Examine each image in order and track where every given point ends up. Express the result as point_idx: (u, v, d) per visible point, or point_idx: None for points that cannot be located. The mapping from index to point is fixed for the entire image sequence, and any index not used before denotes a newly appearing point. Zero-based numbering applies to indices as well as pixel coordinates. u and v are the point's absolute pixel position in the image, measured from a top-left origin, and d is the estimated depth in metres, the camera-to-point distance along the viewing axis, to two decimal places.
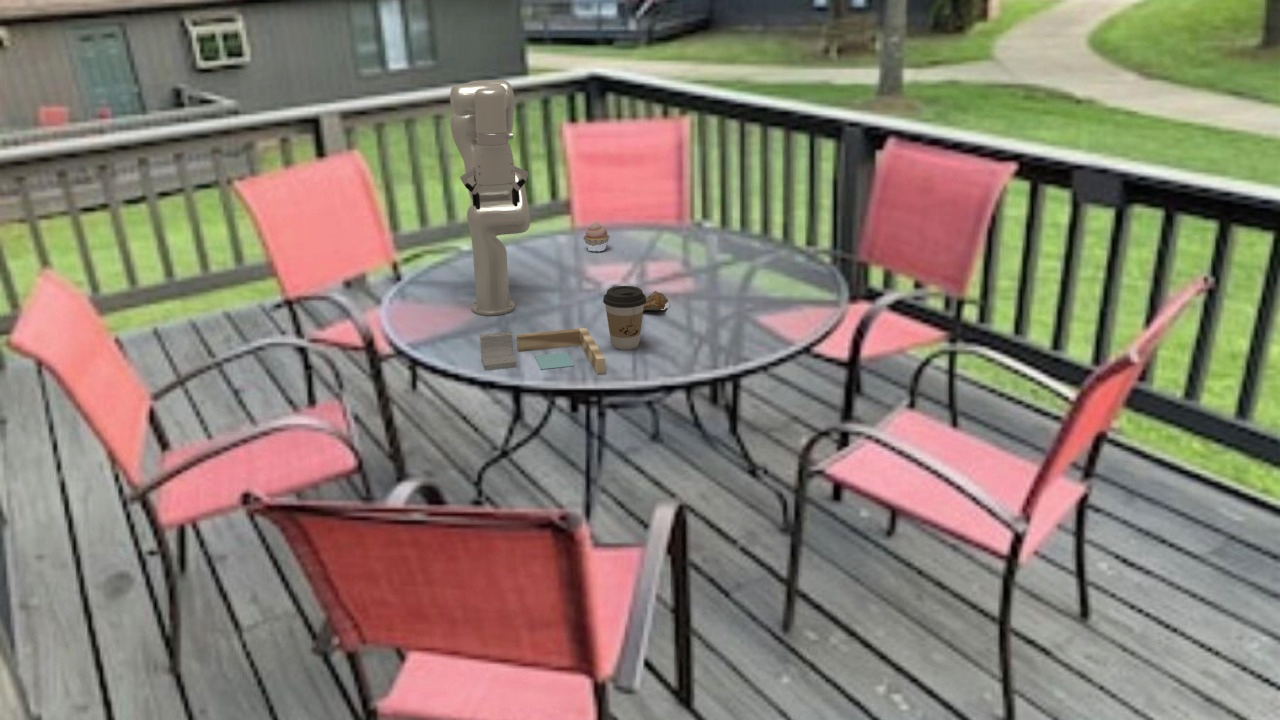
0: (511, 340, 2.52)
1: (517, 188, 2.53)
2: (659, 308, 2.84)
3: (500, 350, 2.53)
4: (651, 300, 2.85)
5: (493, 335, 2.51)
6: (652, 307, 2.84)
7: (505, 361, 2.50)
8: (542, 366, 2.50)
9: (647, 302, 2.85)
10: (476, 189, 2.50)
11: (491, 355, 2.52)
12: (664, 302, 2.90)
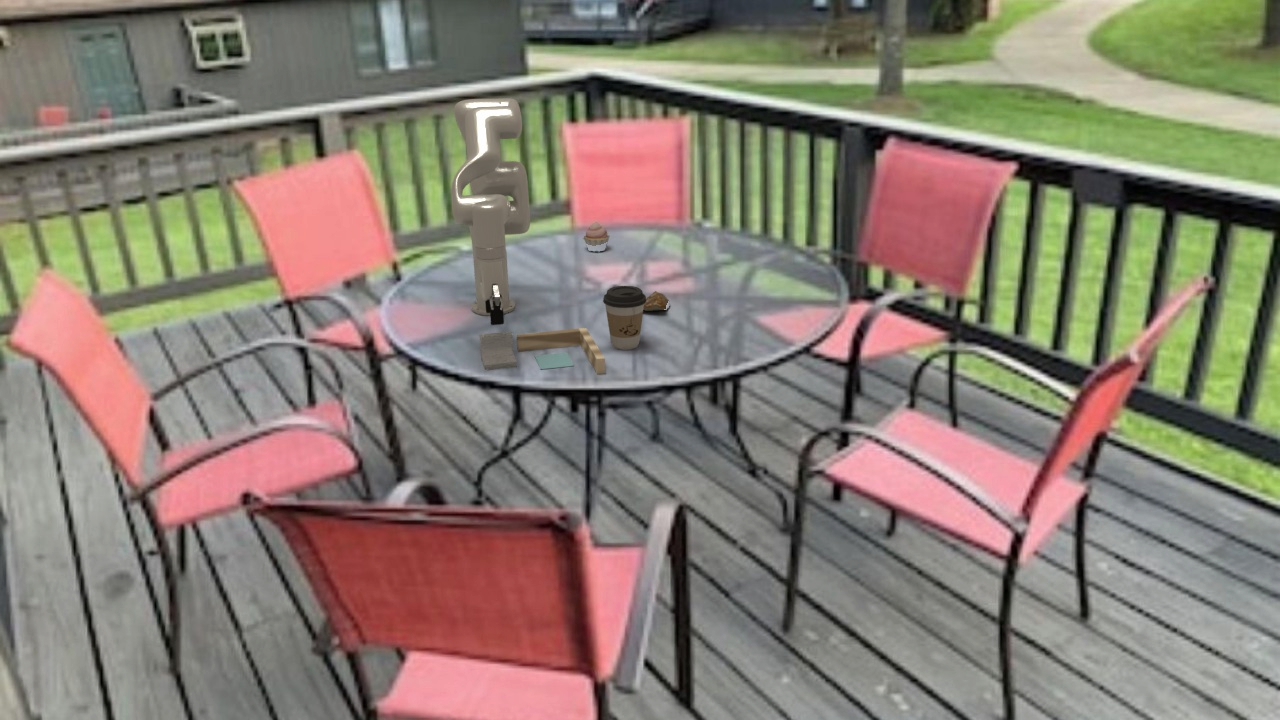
0: (511, 340, 2.52)
1: None
2: (661, 308, 2.84)
3: (500, 350, 2.53)
4: (653, 300, 2.85)
5: (493, 335, 2.51)
6: (654, 307, 2.83)
7: (505, 361, 2.50)
8: (542, 366, 2.50)
9: (649, 302, 2.85)
10: (501, 304, 2.43)
11: (491, 355, 2.52)
12: (665, 302, 2.90)
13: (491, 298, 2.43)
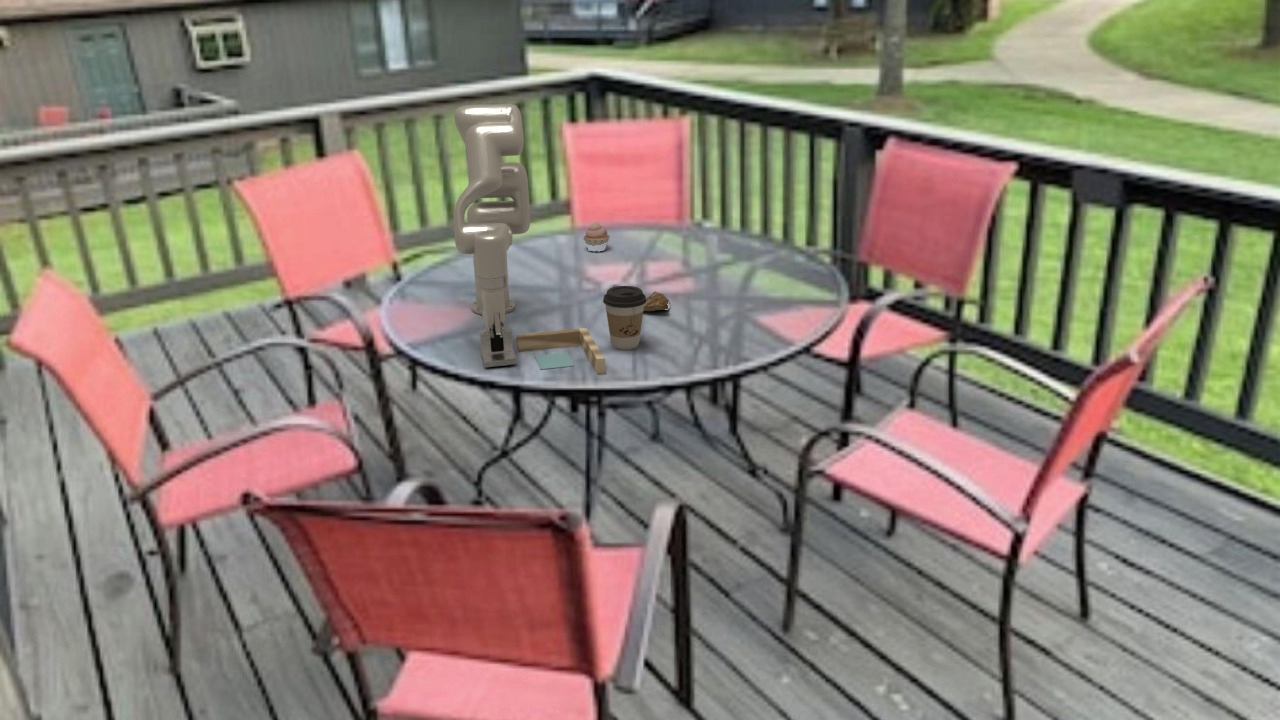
0: (511, 336, 2.52)
1: None
2: (663, 308, 2.84)
3: None
4: (655, 301, 2.84)
5: None
6: (656, 307, 2.83)
7: (505, 357, 2.50)
8: (542, 366, 2.50)
9: (651, 303, 2.84)
10: (501, 332, 2.50)
11: (491, 351, 2.52)
12: (666, 302, 2.90)
13: (492, 328, 2.49)
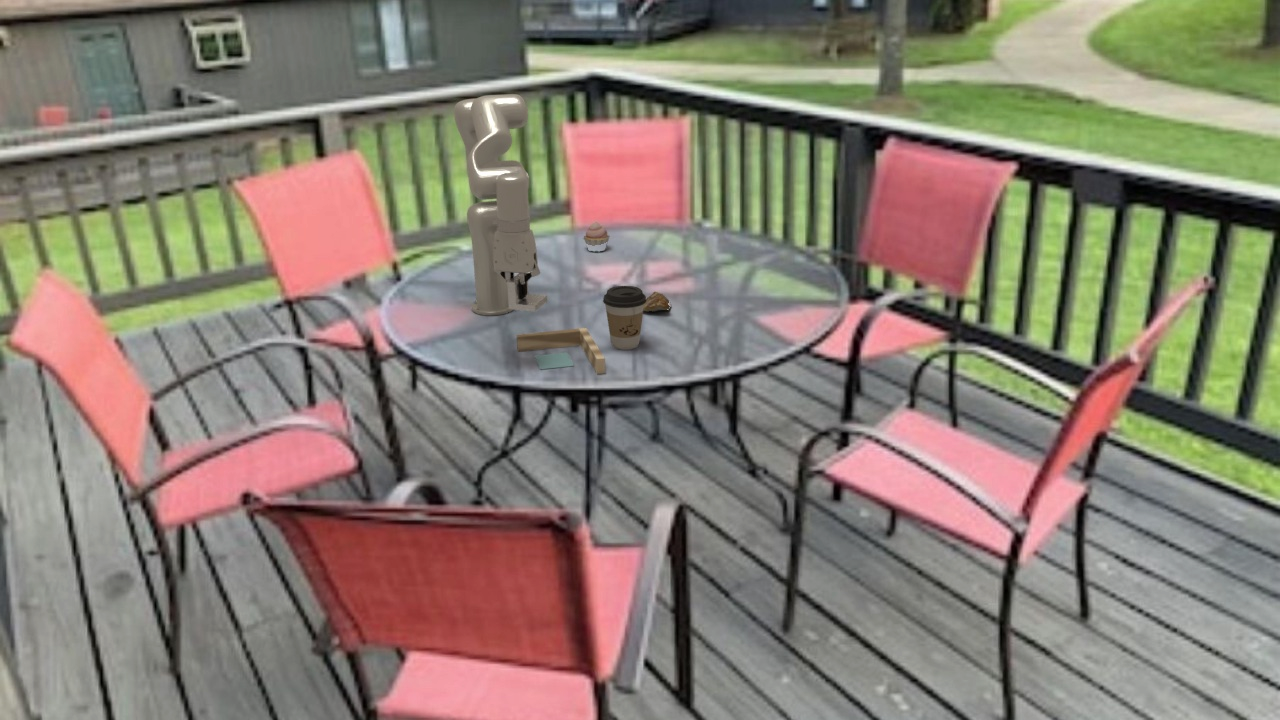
0: None
1: None
2: (665, 308, 2.84)
3: None
4: (656, 301, 2.84)
5: (517, 278, 2.44)
6: (658, 308, 2.83)
7: (538, 298, 2.47)
8: (542, 366, 2.50)
9: (652, 303, 2.84)
10: None
11: (519, 299, 2.45)
12: (667, 302, 2.90)
13: (524, 273, 2.42)
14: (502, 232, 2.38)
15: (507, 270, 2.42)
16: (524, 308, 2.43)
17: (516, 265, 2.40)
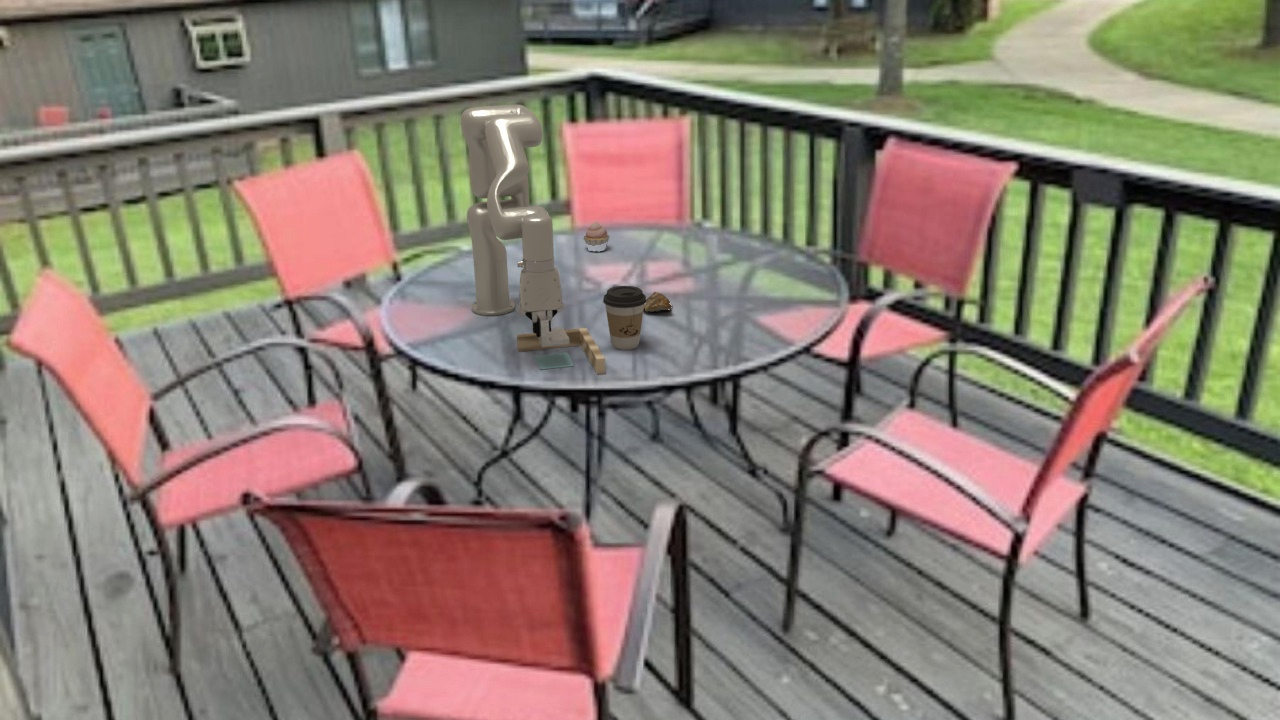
0: None
1: None
2: (667, 308, 2.84)
3: None
4: (658, 301, 2.84)
5: (543, 315, 2.47)
6: (660, 308, 2.83)
7: (560, 331, 2.52)
8: (542, 366, 2.50)
9: (654, 303, 2.84)
10: None
11: None
12: None
13: None
14: (534, 273, 2.40)
15: (538, 309, 2.44)
16: (558, 343, 2.48)
17: (547, 303, 2.44)
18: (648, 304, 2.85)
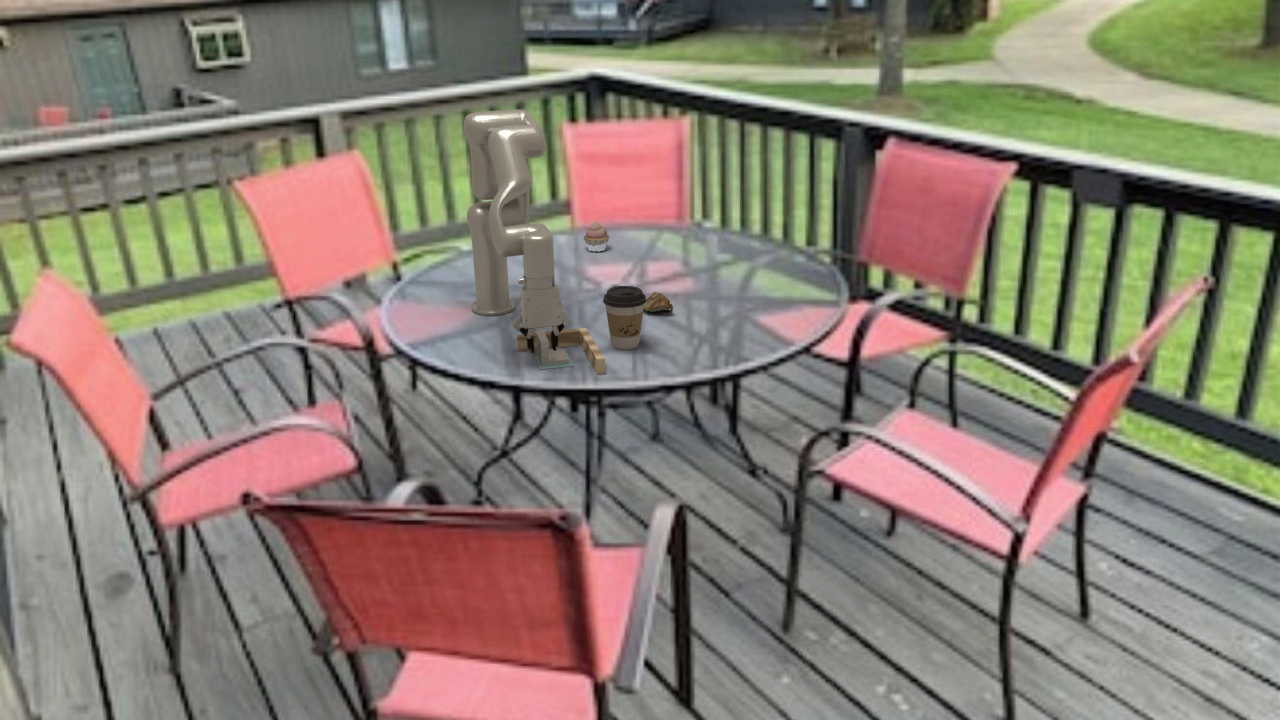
0: None
1: None
2: (668, 308, 2.84)
3: None
4: (659, 301, 2.84)
5: (543, 336, 2.50)
6: (661, 308, 2.83)
7: (560, 352, 2.55)
8: None
9: (655, 303, 2.84)
10: None
11: None
12: None
13: None
14: (535, 290, 2.41)
15: (538, 326, 2.46)
16: (558, 364, 2.50)
17: (548, 319, 2.46)
18: (649, 304, 2.85)
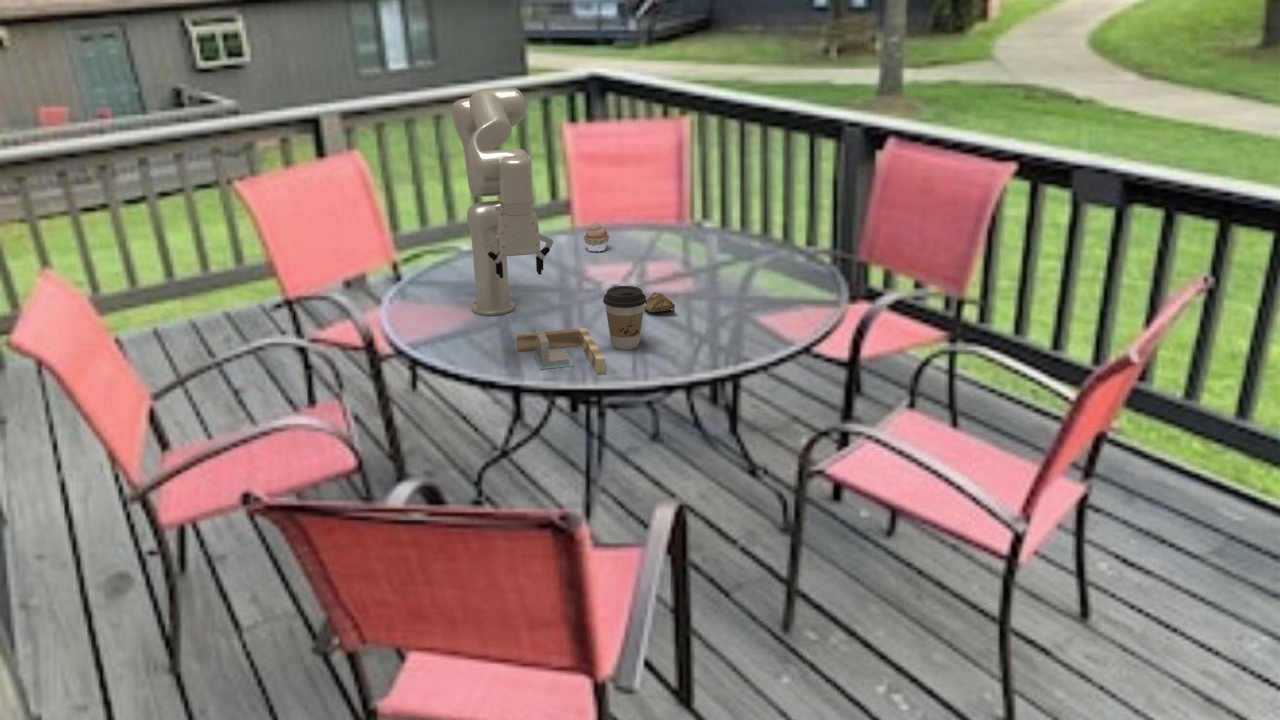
0: None
1: None
2: (670, 308, 2.84)
3: None
4: (661, 301, 2.84)
5: (543, 336, 2.50)
6: (664, 308, 2.83)
7: (560, 352, 2.55)
8: None
9: (657, 303, 2.84)
10: None
11: None
12: None
13: None
14: (512, 216, 2.38)
15: (515, 253, 2.43)
16: (558, 364, 2.50)
17: (525, 247, 2.43)
18: (651, 305, 2.85)
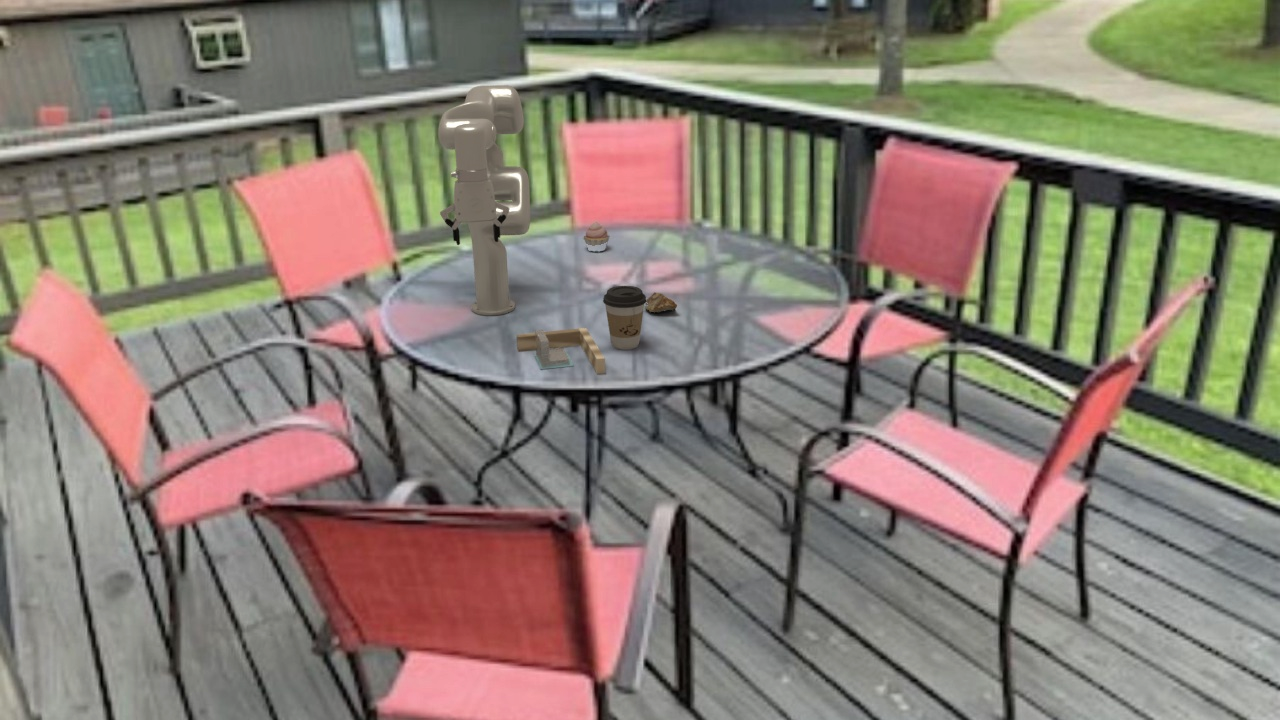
0: None
1: None
2: (672, 308, 2.84)
3: None
4: (663, 301, 2.84)
5: (543, 336, 2.50)
6: (666, 308, 2.83)
7: (560, 352, 2.55)
8: None
9: (659, 304, 2.83)
10: None
11: None
12: None
13: None
14: (467, 182, 2.43)
15: (471, 220, 2.48)
16: (558, 364, 2.50)
17: (481, 213, 2.48)
18: (653, 305, 2.84)
